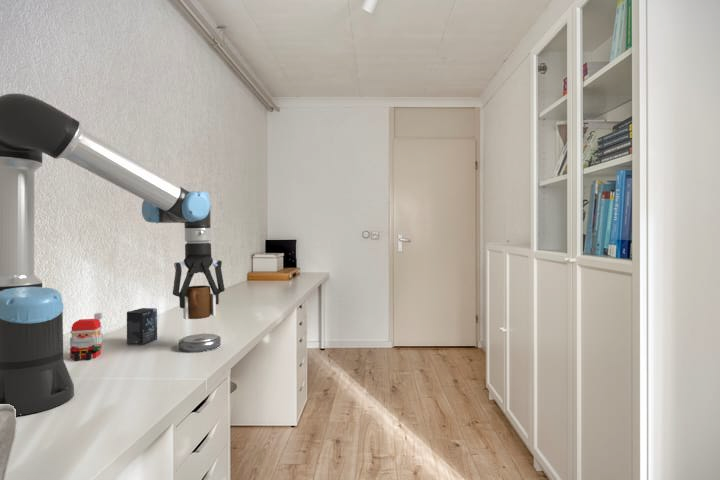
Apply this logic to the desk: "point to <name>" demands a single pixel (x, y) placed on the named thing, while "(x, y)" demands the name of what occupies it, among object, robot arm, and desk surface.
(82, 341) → the figurine
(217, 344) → the grey metal dish
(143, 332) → the box
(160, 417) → the desk surface
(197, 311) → the mug
